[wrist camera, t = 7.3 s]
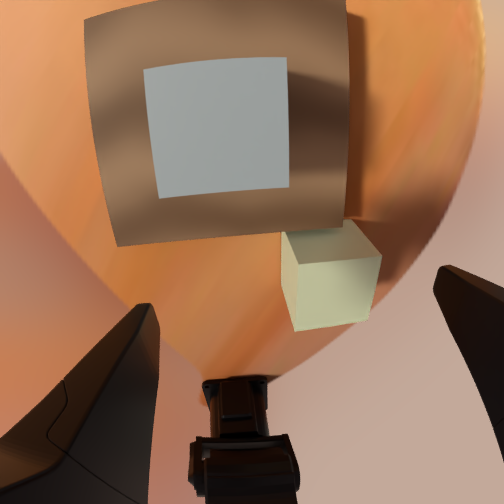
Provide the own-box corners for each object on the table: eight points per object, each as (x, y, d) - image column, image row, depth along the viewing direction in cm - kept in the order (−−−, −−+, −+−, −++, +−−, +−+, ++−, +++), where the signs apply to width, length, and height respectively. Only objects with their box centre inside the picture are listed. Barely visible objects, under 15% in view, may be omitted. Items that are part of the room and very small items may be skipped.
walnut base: (332, 214, 20) (342, 227, 18) (125, 232, 19) (117, 246, 17) (333, 6, 13) (345, -2, 11) (97, 25, 12) (84, 19, 10)
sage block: (343, 277, 23) (367, 320, 19) (281, 284, 23) (294, 331, 18) (351, 219, 20) (382, 256, 16) (281, 223, 20) (298, 264, 16)
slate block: (269, 158, 16) (289, 187, 11) (176, 166, 15) (159, 198, 11) (266, 67, 13) (286, 57, 9) (167, 75, 13) (143, 69, 9)
